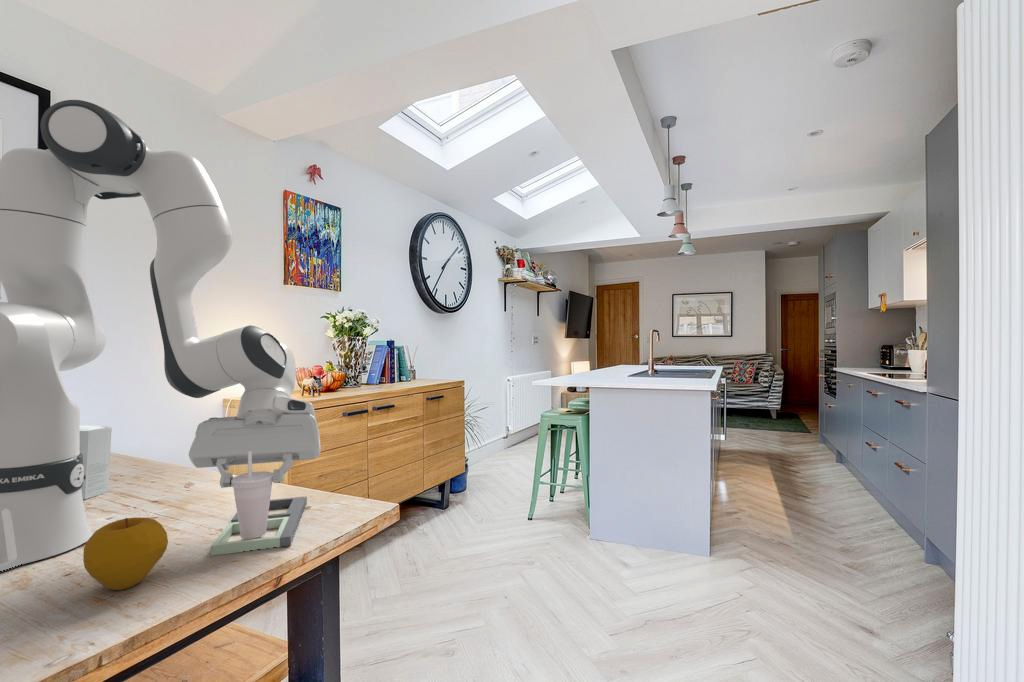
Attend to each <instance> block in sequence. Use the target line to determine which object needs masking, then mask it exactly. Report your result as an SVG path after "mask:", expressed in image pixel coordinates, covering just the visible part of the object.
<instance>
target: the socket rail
mask: <svg viewBox="0 0 1024 682" xmlns="http://www.w3.org/2000/svg"><path fill="white" fill-rule="evenodd" d="M307 499H308V497H307V496H298V497H287V498H276V499H270V505H269V510H271V509H270V508H272V509H280V507H282V508H288V509H287V511H286V512H281V513H280V512H279V513H272V514H271V513H270V514H268V520H267V528H266V530H270V529H271V530H272V529H278V530H277V531H276V534H275V535H274V536H267V537H257V538H253V539H243V540H241V539H240V540H234V541H228V540H229V539H230V538H231V536H232V535H233V534H234V533H240V528H239V521H238V515H237V512H236V513H235V514H234V515H233V517H232V519H230V522H228V523H227V525H226V526H225V527H224V529H222V531H221V532H220V534H219V535H218V536H217V538H216V539H215V540H214V542H212V544H211V545H210V557H212V556H220V555H225V554H226V555H227V554H235V553H244V552H243V551H245V552H251V551H250V550H253V551H258V550H257V549H261V550H266V548H269V549H274V548H273V547H277V548H282V547H281V546H285V547H290V545H291V546H292V544H293V540H294V539H293V538H295V536H294V535H296V533H297V531H296V530H298V528H299V525H300V523H301V520H302V517H303V515H302V514H304V512H305V510H304V509H306V507H305V506H307V504H308V502H307V501H308V500H307ZM300 519H301V520H300ZM299 522H300V523H299ZM297 527H298V528H297ZM295 532H296V533H295ZM291 543H292V544H291Z"/></svg>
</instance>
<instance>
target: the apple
mask: <svg viewBox="0 0 1024 682" xmlns="http://www.w3.org/2000/svg"><path fill="white" fill-rule="evenodd" d="M168 544H169V539H168V533H167V531H166V529H165V528H164V527H163V525H162V524H161V523H160V522H159V521H157V520H156V519H154V518H149V517H125V518H123V519H118V520H115V521H112V522H110V523H109V522H108V523H107V524H105V525H103V526H102V527H100V528H98V529H97V530H95V531H94V532H93V535H92V536H91V537H90V538H89V540H88V541H86V542H85V545H84V547H83V566H84V569H85V570H86V571H87V573H88V574H89V576H90V577H91V578H93V579H94V580H95V581H96V582H97V583H99V584H100V585H102V586H103V587H105V588H106V589H108V590H113V591H123V590H127V589H130V588H132V587H134V586H136V585H137V584H138V583H140V582H141V581H142V580H144V579H145V578H146V577H148V574H149V573H150V572H151V571H152V570H153V568H154V567H155V566H156V564H157V563H158V562H159V561H160V560H161V558H162V557H163V556H164V554H165V552H166V551H167V548H168Z"/></svg>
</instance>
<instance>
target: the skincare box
mask: <svg viewBox="0 0 1024 682" xmlns="http://www.w3.org/2000/svg"><path fill="white" fill-rule="evenodd" d="M112 429H113V427H112V426H104V425H102V426H101V425H80V453H81V454H83V467H84V478H83V486H82V488H81V489H82V497H83V501H84V500H87V499H91V498H94V497H97V496H100V495H103V494H106V493H109V491H110V489H109V487H110V468H111V449H112V447H111V446H112V434H113V433H112Z"/></svg>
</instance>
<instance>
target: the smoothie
mask: <svg viewBox="0 0 1024 682" xmlns="http://www.w3.org/2000/svg"><path fill="white" fill-rule="evenodd" d="M252 470H253V464H252V451H248V464H247V472H246V473H242V474H238V475H236V476H233V478H232V479H231V486H232V487H231V488H233V495H234V500H235V508H236V513H237V515H238V521H239V528H240V532H239V534H240V535H239V536H240V538H241V539H243V540H249V539H258V538H261V537H264V535H266V534H267V529H266V528H267V520H268V515H269V512H270V511H269V510H270V509H269V505H270V500H271V497H272V496H271V495H272V488H273V487H272V486H273V475H274V474H273V472H271V471H266V470H265V471H252Z"/></svg>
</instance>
